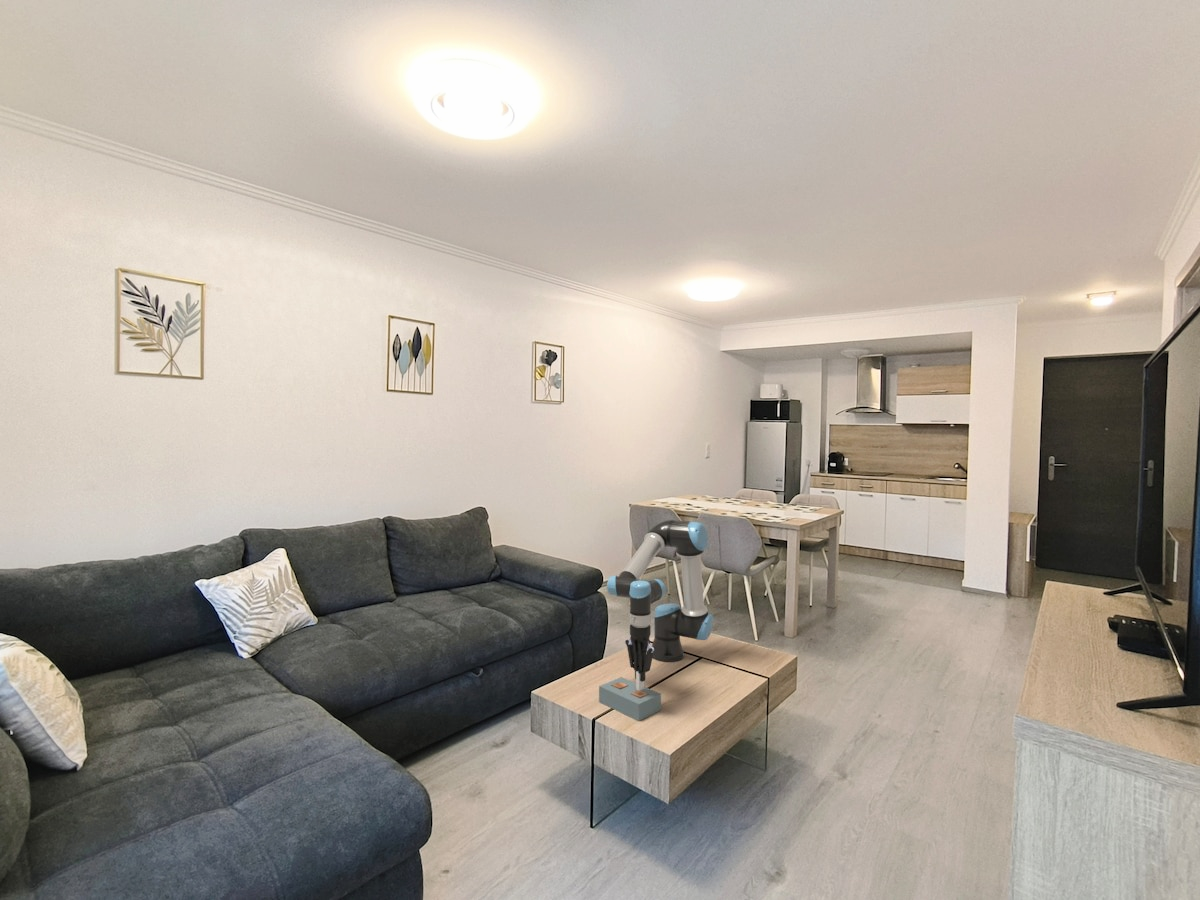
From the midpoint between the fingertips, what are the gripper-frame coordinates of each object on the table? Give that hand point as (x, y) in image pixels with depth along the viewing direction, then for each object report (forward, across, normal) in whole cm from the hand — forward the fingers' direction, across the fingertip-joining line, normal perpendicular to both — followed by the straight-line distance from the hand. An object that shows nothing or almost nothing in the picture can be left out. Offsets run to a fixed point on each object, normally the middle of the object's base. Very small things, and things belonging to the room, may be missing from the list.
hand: (640, 688), depth 204 cm
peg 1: (+8, -10, 0) cm, 13 cm away
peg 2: (+8, 0, 0) cm, 8 cm away
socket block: (+8, -5, 0) cm, 9 cm away
